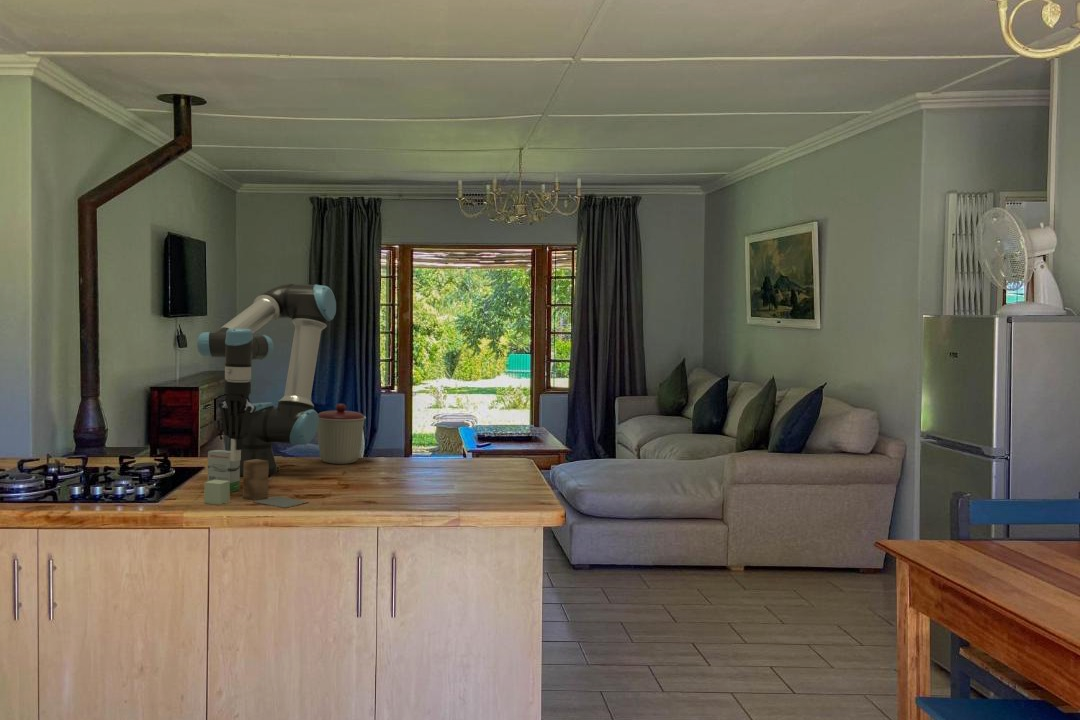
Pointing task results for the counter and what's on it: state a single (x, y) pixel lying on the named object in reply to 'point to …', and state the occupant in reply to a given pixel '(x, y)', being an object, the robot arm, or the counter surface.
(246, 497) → the walnut block
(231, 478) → the ink box
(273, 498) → the mat
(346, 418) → the canister
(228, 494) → the sage block
